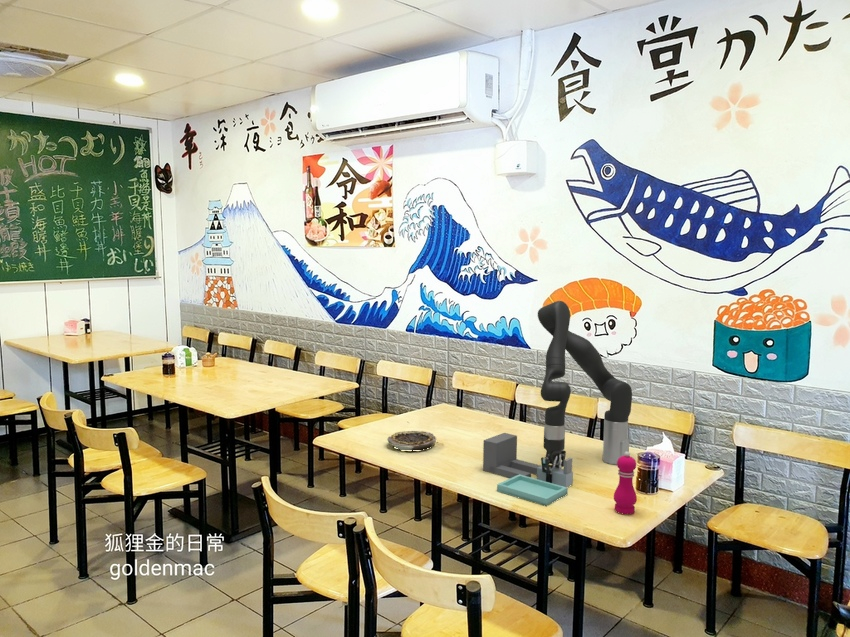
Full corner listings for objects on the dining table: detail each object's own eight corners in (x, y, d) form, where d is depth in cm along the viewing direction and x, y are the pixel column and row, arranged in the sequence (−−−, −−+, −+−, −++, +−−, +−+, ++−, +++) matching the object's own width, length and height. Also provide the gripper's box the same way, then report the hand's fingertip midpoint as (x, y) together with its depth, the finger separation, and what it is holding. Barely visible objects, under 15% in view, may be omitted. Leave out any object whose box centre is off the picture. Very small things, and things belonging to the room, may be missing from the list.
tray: (567, 494, 229) (567, 487, 229) (546, 506, 218) (546, 498, 218) (519, 480, 242) (519, 474, 242) (497, 491, 232) (497, 484, 231)
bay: (545, 472, 251) (545, 442, 250) (524, 482, 240) (525, 450, 239) (503, 461, 263) (504, 432, 262) (483, 470, 253) (483, 440, 252)
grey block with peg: (572, 485, 238) (573, 458, 237) (565, 488, 234) (566, 461, 233) (543, 477, 246) (544, 451, 245) (536, 480, 242) (537, 454, 241)
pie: (456, 450, 279) (456, 438, 279) (400, 461, 265) (400, 449, 264) (421, 434, 303) (421, 423, 302) (368, 444, 288) (368, 433, 288)
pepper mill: (608, 510, 215) (611, 451, 213) (620, 504, 220) (622, 446, 218) (629, 517, 210) (631, 456, 208) (640, 511, 215) (642, 451, 213)
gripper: (555, 430, 247) (553, 473, 248) (534, 438, 236) (533, 483, 238) (573, 434, 242) (571, 478, 244) (553, 442, 231) (551, 489, 233)
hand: (552, 481), depth 241 cm, fingers closed on grey block with peg, 5 cm apart
